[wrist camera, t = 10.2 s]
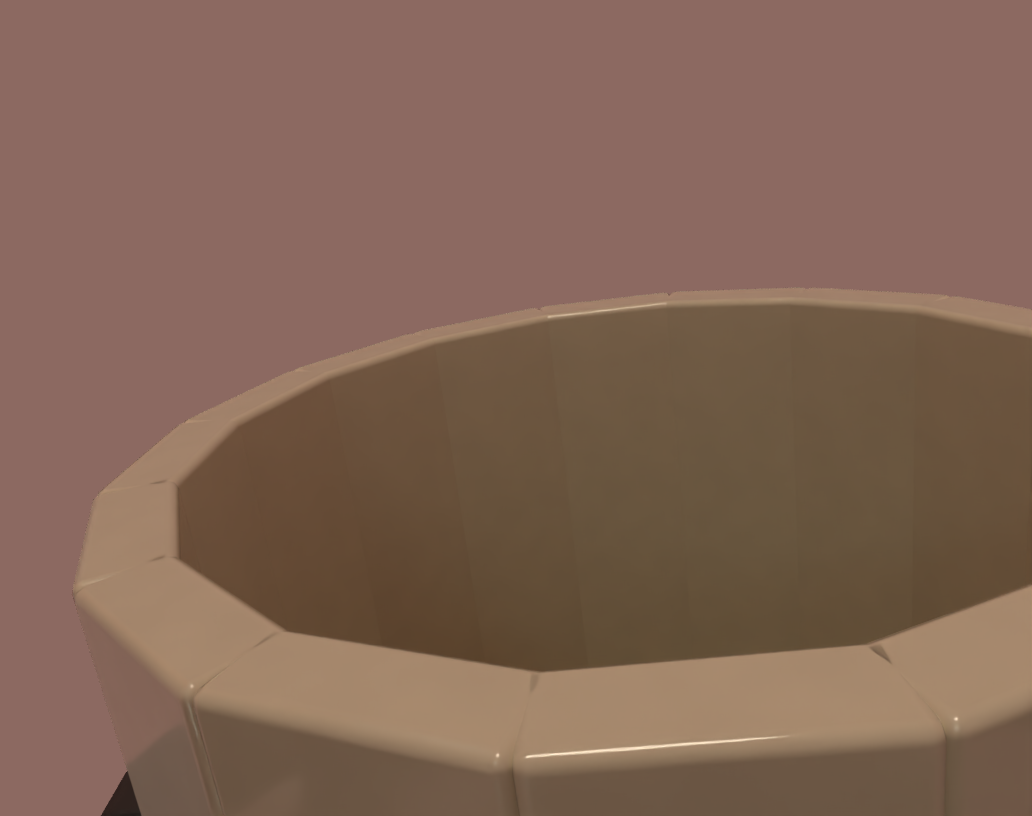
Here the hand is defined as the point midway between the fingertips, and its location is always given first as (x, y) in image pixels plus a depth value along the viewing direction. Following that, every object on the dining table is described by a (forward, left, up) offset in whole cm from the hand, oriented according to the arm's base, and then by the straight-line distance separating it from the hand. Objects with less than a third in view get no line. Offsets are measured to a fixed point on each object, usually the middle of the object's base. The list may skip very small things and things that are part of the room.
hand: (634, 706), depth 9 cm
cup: (-1, -2, -6) cm, 6 cm away
